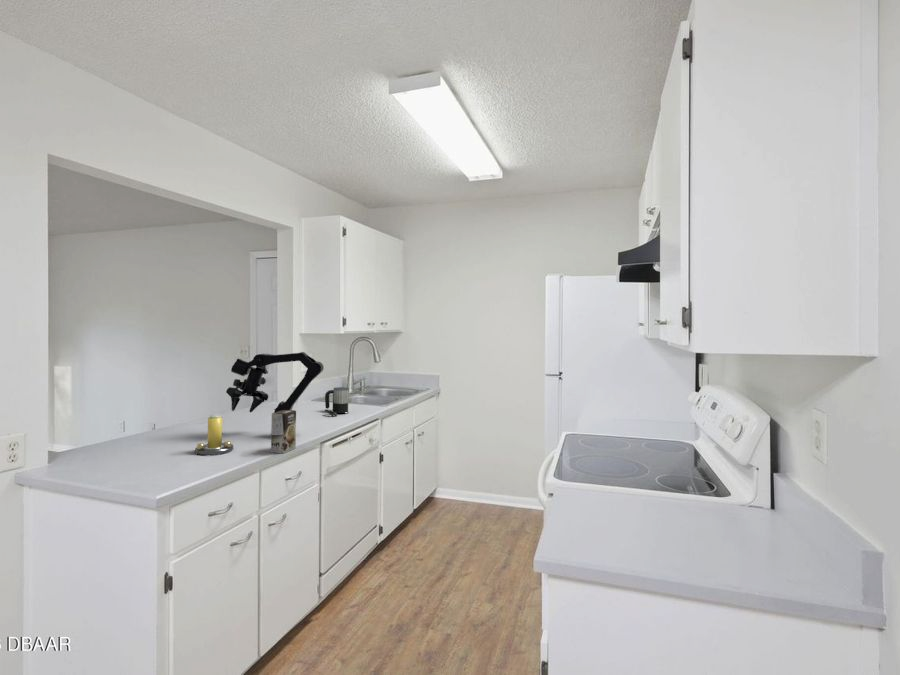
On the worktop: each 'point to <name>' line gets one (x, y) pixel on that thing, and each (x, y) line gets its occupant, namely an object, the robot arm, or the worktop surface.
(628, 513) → the worktop surface
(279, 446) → the coffee box
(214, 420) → the yellow cylinder
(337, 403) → the milk frother
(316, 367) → the robot arm
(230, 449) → the base plate
